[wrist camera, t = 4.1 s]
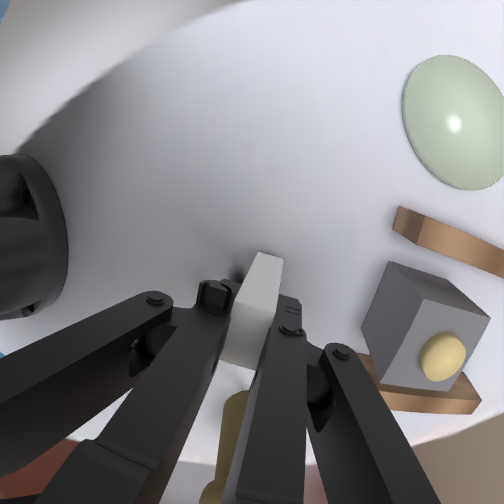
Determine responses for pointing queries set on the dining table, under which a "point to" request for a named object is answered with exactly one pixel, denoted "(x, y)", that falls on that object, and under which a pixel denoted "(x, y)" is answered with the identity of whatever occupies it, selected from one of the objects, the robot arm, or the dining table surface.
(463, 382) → the guide channel
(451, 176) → the saucer
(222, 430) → the cork
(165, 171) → the dining table surface
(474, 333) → the plug
